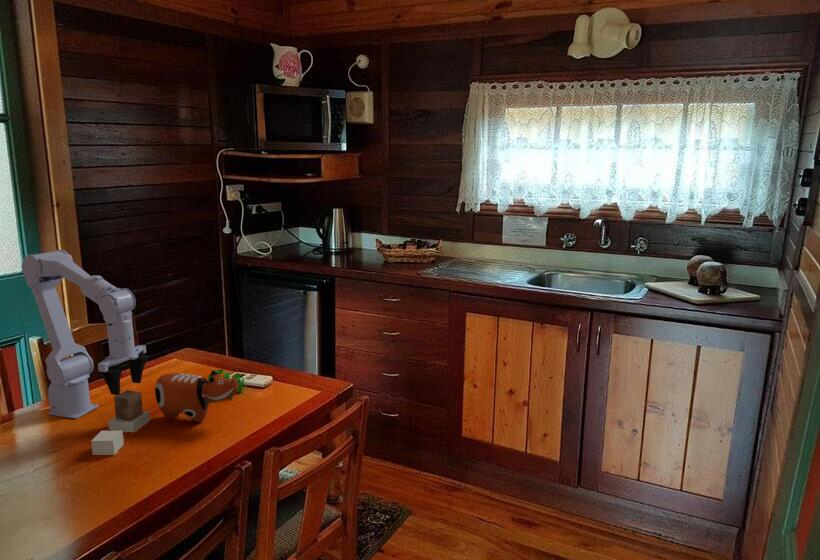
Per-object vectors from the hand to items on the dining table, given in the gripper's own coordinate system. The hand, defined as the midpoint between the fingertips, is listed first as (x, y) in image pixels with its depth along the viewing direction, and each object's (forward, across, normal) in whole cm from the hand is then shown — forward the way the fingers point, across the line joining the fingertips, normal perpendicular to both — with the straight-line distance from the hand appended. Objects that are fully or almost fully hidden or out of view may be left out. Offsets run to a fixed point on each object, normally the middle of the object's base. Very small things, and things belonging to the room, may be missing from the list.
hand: (126, 388), depth 149 cm
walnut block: (+8, 0, 0) cm, 8 cm away
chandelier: (+11, +25, -11) cm, 30 cm away
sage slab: (+11, 0, 0) cm, 11 cm away
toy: (+11, +7, -16) cm, 21 cm away
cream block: (+11, -12, -4) cm, 17 cm away
